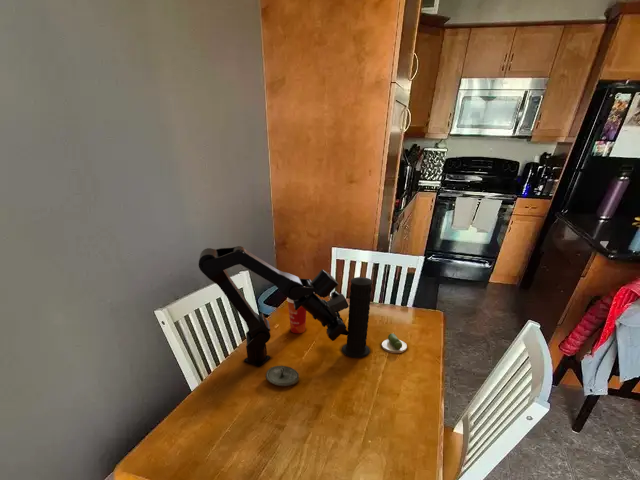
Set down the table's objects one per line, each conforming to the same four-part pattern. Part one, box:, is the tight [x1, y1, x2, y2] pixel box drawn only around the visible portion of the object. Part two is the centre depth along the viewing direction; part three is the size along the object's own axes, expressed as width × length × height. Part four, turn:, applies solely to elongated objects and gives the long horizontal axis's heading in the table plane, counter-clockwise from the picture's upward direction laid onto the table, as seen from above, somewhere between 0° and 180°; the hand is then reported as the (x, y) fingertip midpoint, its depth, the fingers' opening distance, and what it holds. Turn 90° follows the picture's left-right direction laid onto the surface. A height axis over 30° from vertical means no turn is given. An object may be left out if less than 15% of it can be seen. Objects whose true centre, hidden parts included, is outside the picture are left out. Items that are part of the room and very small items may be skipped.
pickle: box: [381, 332, 408, 354], centre depth 131 cm, size 9×9×4 cm
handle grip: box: [341, 276, 374, 359], centre depth 122 cm, size 10×26×10 cm
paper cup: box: [286, 297, 307, 334], centre depth 137 cm, size 8×8×14 cm
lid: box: [265, 365, 300, 387], centre depth 113 cm, size 11×10×5 cm
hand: (347, 333), depth 125 cm, fingers closed, pressing on handle grip
